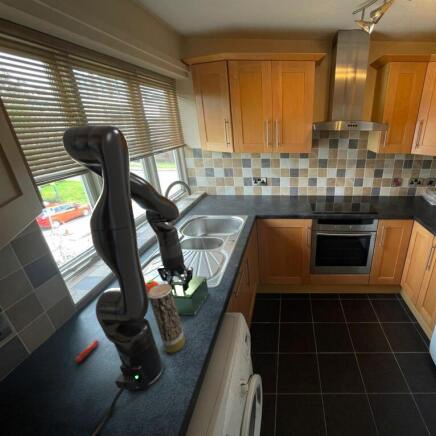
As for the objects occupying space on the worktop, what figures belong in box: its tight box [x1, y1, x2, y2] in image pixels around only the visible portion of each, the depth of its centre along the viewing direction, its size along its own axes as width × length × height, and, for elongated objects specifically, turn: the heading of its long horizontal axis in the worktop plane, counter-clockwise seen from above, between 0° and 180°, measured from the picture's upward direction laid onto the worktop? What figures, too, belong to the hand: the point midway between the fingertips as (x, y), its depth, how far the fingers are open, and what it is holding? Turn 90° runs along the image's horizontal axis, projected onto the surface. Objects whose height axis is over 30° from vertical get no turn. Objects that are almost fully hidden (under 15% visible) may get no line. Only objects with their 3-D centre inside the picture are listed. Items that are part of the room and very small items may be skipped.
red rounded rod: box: [75, 339, 100, 363], centre depth 83 cm, size 8×2×2 cm, turn 174°
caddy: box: [174, 278, 210, 317], centre depth 104 cm, size 14×11×9 cm
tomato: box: [145, 279, 159, 292], centre depth 110 cm, size 8×7×7 cm
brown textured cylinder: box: [148, 283, 186, 354], centre depth 81 cm, size 7×7×25 cm
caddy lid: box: [171, 275, 207, 298], centre depth 101 cm, size 14×11×6 cm
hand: (179, 289), depth 96 cm, fingers closed on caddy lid, 5 cm apart
